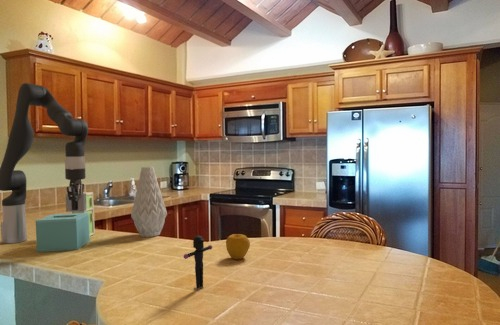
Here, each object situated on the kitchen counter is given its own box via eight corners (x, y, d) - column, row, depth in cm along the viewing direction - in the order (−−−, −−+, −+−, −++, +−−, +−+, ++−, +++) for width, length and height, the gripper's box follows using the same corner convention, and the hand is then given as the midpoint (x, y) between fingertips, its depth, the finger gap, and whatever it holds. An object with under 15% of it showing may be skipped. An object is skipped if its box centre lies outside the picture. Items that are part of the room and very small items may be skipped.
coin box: (37, 252, 156) (35, 220, 155) (53, 242, 171) (51, 214, 171) (77, 249, 157) (76, 218, 157) (89, 241, 173) (88, 212, 173)
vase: (125, 236, 181) (122, 167, 181) (155, 230, 193) (152, 166, 193) (144, 240, 170) (141, 167, 169) (174, 234, 182) (172, 166, 181)
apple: (253, 255, 140) (252, 231, 139) (245, 262, 132) (244, 236, 131) (231, 254, 142) (230, 231, 142) (222, 260, 134) (221, 235, 134)
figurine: (207, 281, 113) (205, 231, 113) (217, 283, 111) (216, 232, 111) (180, 294, 103) (178, 239, 102) (191, 297, 101) (189, 241, 100)
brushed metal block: (66, 211, 154) (65, 194, 154) (68, 210, 157) (68, 193, 157) (84, 211, 155) (83, 194, 154) (86, 210, 158) (86, 193, 157)
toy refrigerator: (86, 238, 180) (84, 194, 179) (72, 237, 181) (70, 194, 181) (96, 234, 188) (94, 192, 187) (83, 234, 189) (81, 192, 189)
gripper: (72, 166, 162) (73, 207, 162) (58, 168, 148) (59, 212, 149) (90, 166, 163) (91, 206, 163) (78, 168, 149) (79, 212, 149)
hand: (76, 209), depth 156 cm, fingers closed on brushed metal block, 3 cm apart
